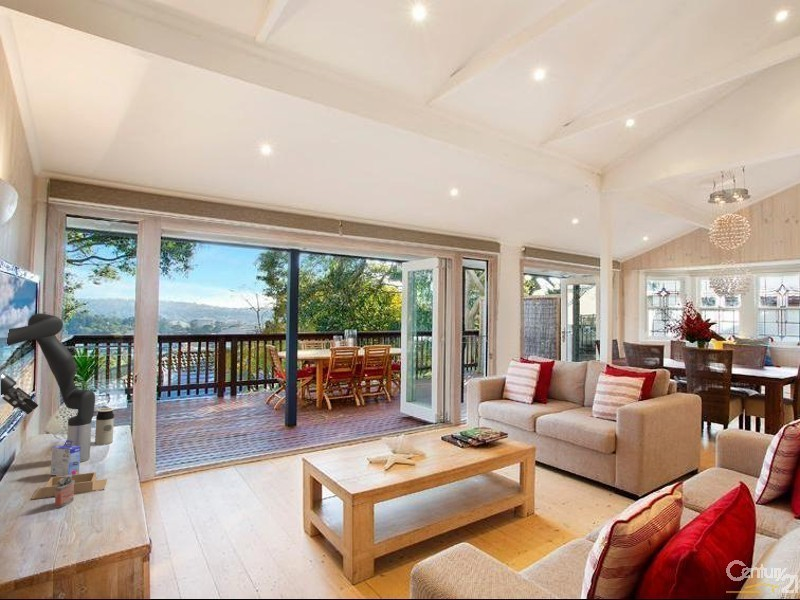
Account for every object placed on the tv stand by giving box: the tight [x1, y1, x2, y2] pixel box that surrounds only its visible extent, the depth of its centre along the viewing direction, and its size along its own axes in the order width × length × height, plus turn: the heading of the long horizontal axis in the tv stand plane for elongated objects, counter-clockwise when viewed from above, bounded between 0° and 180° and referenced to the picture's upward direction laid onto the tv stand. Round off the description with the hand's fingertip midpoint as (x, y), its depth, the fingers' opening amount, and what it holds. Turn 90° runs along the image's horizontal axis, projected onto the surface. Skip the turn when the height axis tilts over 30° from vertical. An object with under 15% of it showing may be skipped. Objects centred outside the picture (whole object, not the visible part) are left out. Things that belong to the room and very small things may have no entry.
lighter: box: [53, 475, 75, 510], centre depth 166 cm, size 8×3×10 cm, turn 2°
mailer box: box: [30, 471, 108, 500], centre depth 180 cm, size 15×23×4 cm, turn 119°
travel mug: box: [94, 407, 115, 446], centre depth 239 cm, size 8×8×18 cm
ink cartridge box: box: [49, 439, 81, 477], centre depth 193 cm, size 10×6×14 cm, turn 78°
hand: (33, 409), depth 174 cm, fingers open, 8 cm apart
